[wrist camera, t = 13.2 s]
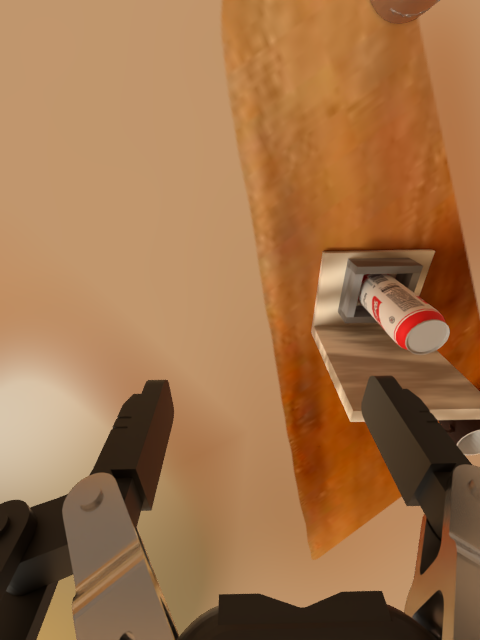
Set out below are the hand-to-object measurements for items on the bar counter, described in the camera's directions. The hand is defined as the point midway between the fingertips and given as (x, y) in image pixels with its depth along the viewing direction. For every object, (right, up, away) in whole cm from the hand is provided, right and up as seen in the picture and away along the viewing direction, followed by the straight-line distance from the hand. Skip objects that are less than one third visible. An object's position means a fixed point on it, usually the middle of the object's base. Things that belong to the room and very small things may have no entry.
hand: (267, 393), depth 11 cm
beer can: (+22, +9, +36) cm, 43 cm away
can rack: (+22, +8, +38) cm, 44 cm away
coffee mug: (+46, -16, +52) cm, 71 cm away
